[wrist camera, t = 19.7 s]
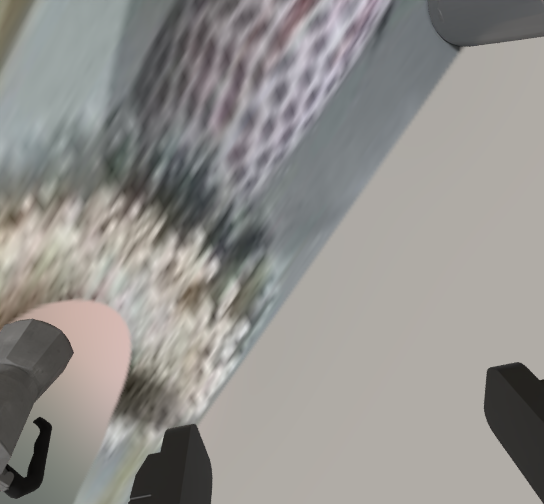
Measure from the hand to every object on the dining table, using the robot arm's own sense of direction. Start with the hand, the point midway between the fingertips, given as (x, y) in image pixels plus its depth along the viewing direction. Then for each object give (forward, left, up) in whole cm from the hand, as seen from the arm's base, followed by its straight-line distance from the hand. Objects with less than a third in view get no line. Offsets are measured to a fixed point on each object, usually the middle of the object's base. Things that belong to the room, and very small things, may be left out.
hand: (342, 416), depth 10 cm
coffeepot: (+33, +18, -33) cm, 50 cm away
